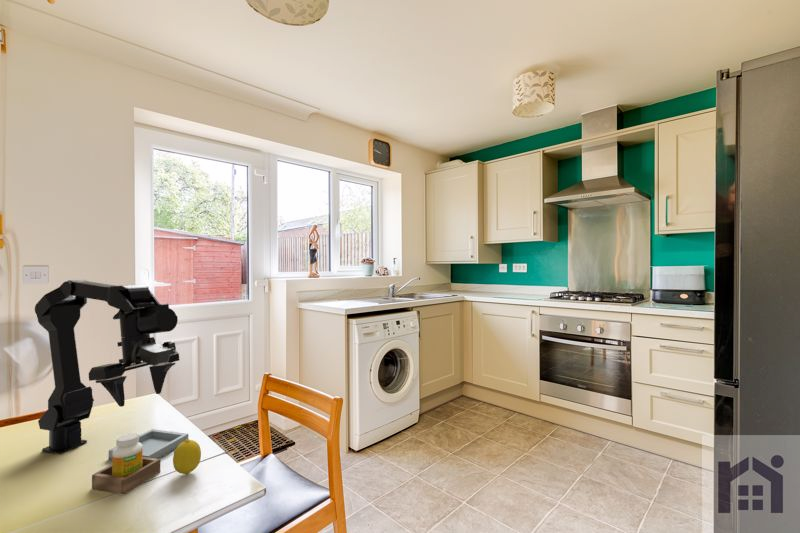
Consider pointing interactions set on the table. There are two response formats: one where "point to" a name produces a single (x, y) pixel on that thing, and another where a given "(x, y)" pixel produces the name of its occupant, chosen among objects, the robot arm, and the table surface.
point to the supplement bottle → (127, 455)
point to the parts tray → (158, 443)
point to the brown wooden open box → (124, 485)
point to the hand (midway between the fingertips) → (141, 399)
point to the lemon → (187, 456)
